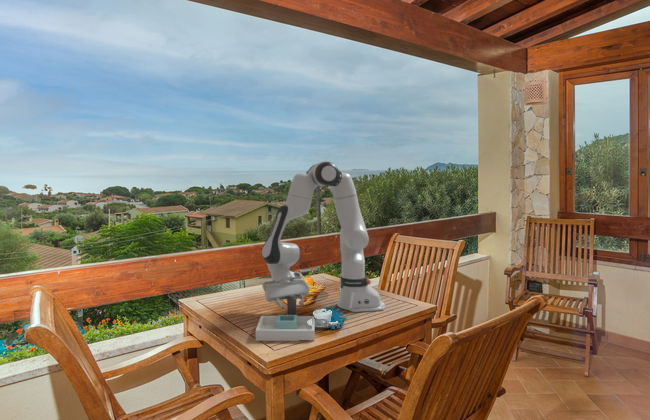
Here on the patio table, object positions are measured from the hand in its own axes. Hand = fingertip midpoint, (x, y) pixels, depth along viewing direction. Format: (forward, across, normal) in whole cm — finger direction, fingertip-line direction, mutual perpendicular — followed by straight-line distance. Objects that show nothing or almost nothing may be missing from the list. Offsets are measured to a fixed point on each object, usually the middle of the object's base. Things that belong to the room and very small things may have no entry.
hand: (292, 306), depth 178 cm
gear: (+16, +10, -8) cm, 21 cm away
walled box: (+13, -9, -6) cm, 17 cm away
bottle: (+3, 0, +4) cm, 5 cm away
